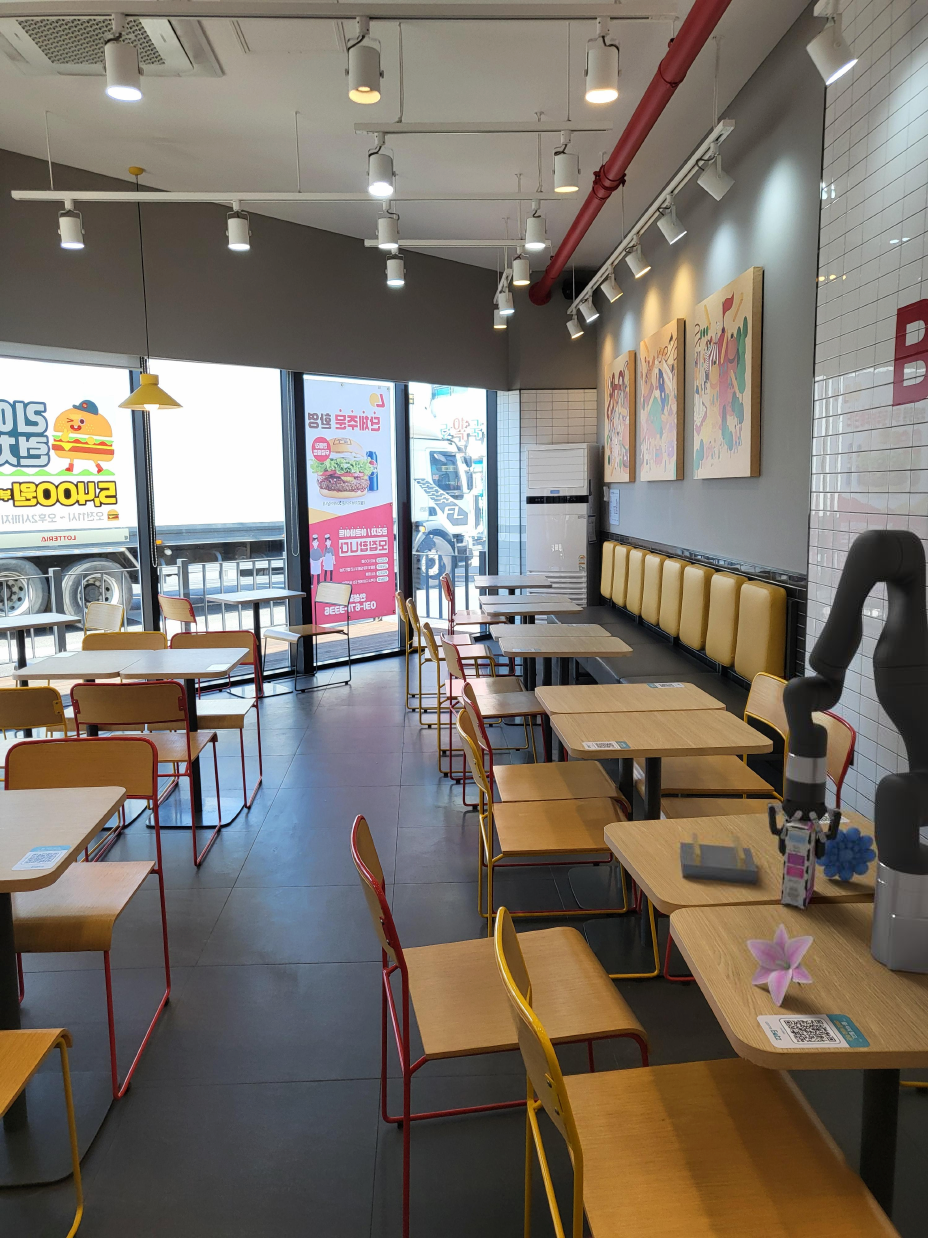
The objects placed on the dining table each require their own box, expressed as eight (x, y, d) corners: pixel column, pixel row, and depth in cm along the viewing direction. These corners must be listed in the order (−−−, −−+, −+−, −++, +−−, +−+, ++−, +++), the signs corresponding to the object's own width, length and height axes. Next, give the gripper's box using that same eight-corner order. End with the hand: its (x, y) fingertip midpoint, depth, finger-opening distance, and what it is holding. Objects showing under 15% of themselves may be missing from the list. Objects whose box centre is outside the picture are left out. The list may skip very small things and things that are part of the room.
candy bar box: (807, 911, 161) (812, 830, 159) (780, 905, 163) (784, 825, 161) (815, 889, 170) (820, 812, 168) (790, 883, 173) (794, 808, 171)
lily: (745, 968, 142) (729, 930, 138) (812, 947, 140) (798, 908, 136) (768, 1029, 131) (752, 989, 127) (842, 1008, 129) (828, 967, 126)
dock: (756, 884, 172) (758, 859, 171) (682, 877, 175) (683, 852, 174) (749, 861, 184) (750, 837, 183) (679, 855, 187) (680, 831, 186)
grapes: (872, 877, 176) (876, 823, 175) (875, 890, 170) (879, 834, 168) (813, 868, 180) (816, 815, 179) (814, 881, 174) (817, 826, 172)
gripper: (770, 778, 161) (766, 861, 163) (849, 784, 158) (843, 868, 160) (765, 767, 169) (760, 846, 171) (840, 772, 166) (835, 852, 168)
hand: (801, 856), depth 165 cm, fingers closed on candy bar box, 6 cm apart
